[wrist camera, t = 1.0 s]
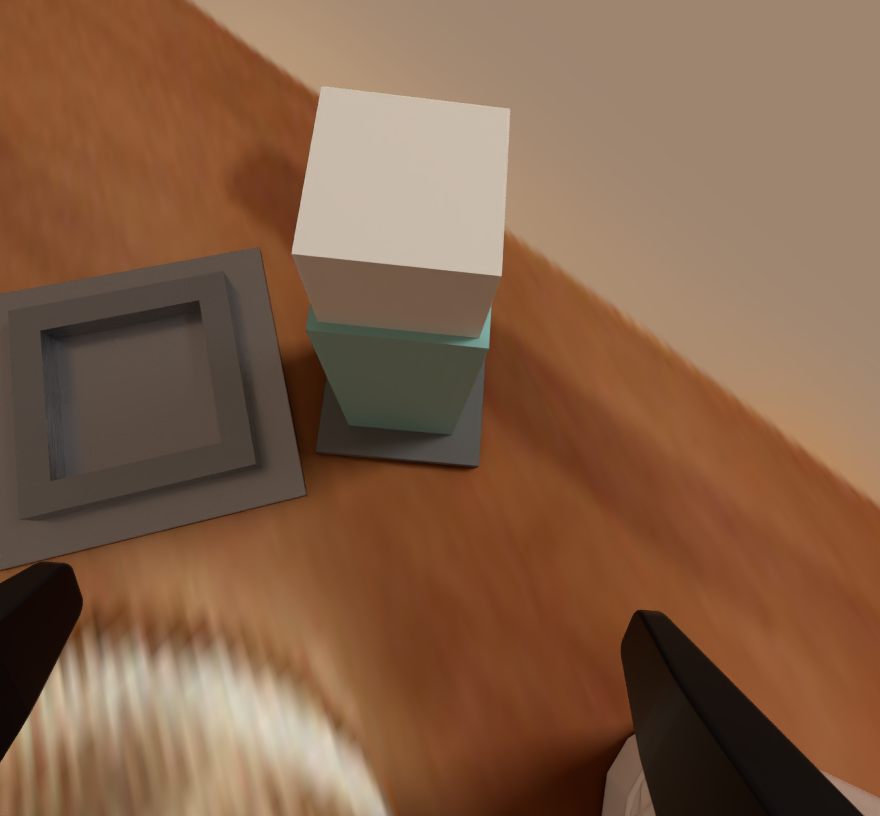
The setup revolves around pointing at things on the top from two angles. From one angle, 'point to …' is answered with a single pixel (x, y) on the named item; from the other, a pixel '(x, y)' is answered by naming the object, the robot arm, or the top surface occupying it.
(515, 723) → the top surface
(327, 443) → the pad
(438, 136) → the peg
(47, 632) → the robot arm
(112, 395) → the socket
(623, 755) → the white cup
